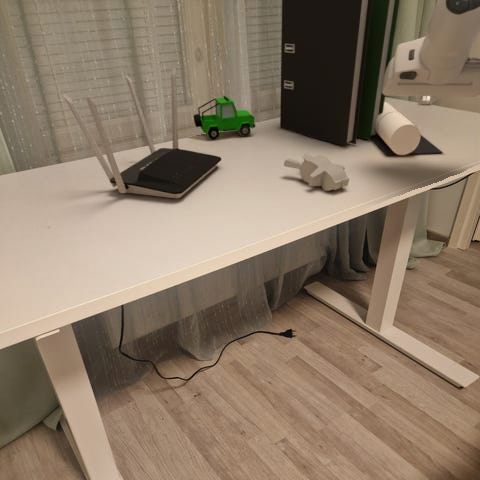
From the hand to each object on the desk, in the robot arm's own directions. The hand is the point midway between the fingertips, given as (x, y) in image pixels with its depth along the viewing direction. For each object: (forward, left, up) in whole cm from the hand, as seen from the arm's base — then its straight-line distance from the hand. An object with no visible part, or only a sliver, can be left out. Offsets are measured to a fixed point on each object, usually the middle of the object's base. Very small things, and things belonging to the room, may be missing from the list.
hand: (424, 102), depth 96 cm
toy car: (+46, -27, -13) cm, 55 cm away
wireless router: (+61, +7, -13) cm, 63 cm away
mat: (-2, -14, -13) cm, 19 cm away
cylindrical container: (+2, -2, -9) cm, 9 cm away
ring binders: (+16, -25, -13) cm, 33 cm away
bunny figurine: (+25, +13, -13) cm, 31 cm away
